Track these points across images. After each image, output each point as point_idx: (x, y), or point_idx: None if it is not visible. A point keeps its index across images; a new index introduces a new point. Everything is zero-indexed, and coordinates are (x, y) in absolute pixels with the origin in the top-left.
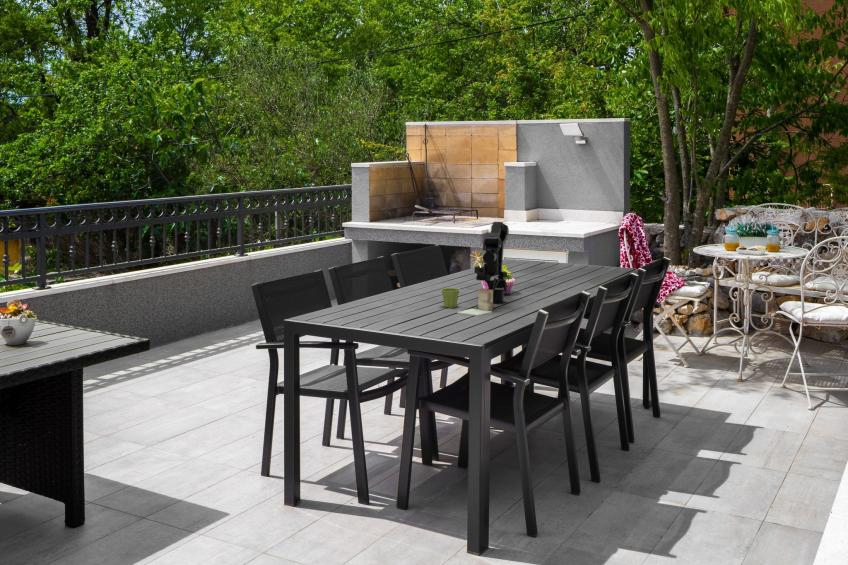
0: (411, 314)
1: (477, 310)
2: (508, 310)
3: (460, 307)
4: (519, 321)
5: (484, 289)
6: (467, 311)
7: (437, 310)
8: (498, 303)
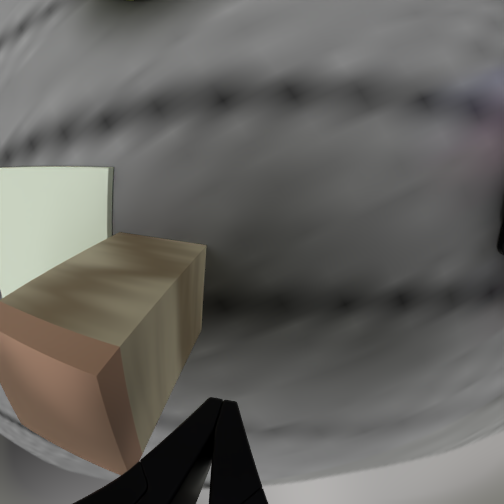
0: None
1: (76, 254)
2: (257, 415)
3: (164, 23)
4: (76, 460)
5: (49, 390)
6: (20, 212)
7: (18, 23)
8: (498, 245)
